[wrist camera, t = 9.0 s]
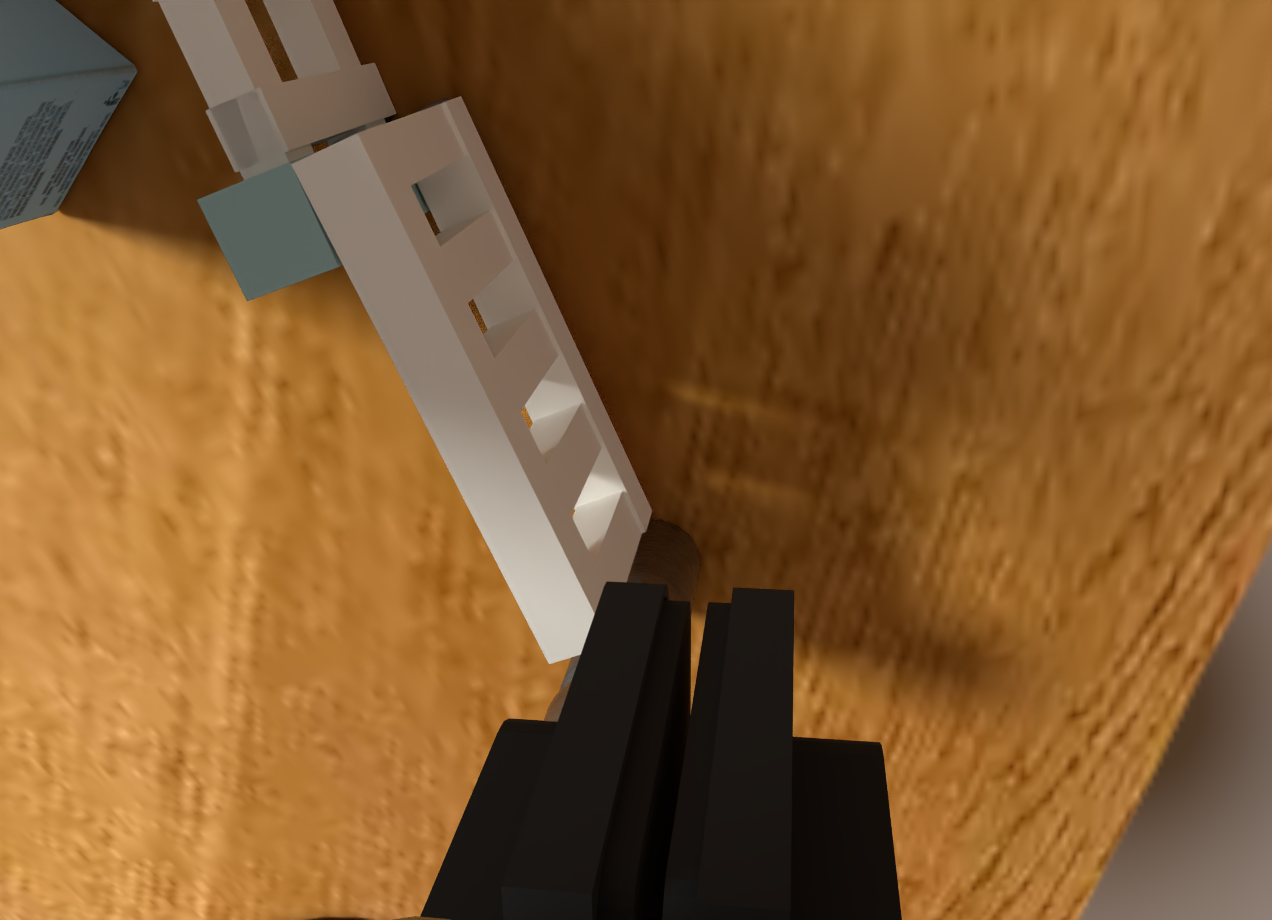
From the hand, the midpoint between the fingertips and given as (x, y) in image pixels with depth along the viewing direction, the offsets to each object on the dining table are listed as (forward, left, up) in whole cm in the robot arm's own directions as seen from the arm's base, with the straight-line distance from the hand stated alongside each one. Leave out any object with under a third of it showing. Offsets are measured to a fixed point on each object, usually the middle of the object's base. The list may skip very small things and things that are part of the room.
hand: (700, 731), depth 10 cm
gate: (+1, +6, -18) cm, 19 cm away
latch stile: (+5, +8, -18) cm, 21 cm away
